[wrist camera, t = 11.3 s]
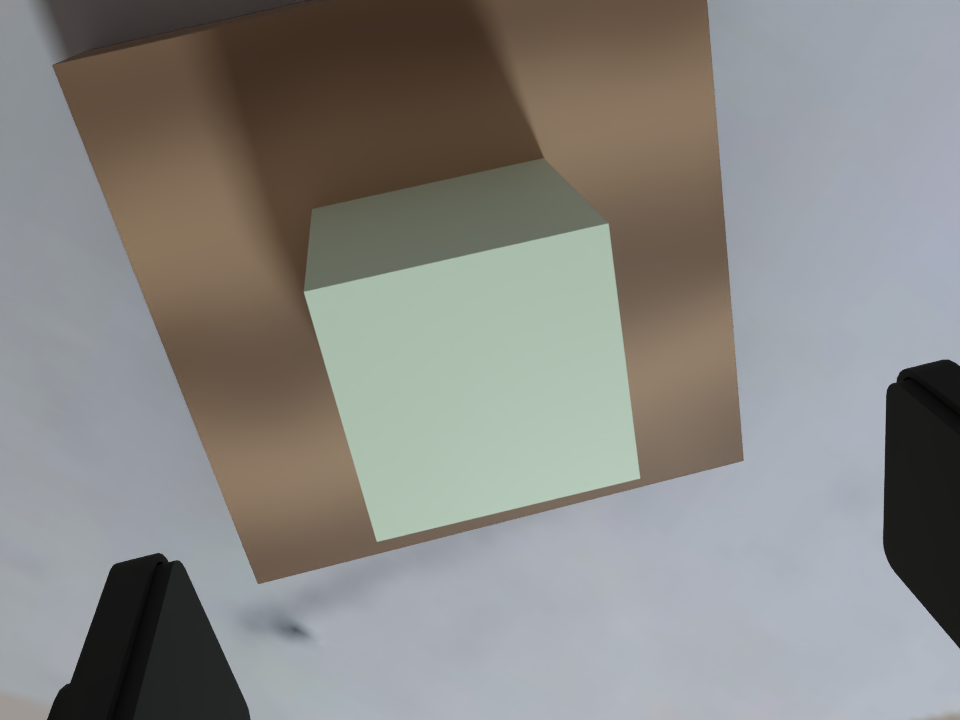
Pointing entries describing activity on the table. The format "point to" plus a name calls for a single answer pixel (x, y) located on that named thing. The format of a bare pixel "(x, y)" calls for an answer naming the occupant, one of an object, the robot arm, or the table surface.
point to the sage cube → (472, 345)
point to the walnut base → (394, 166)
